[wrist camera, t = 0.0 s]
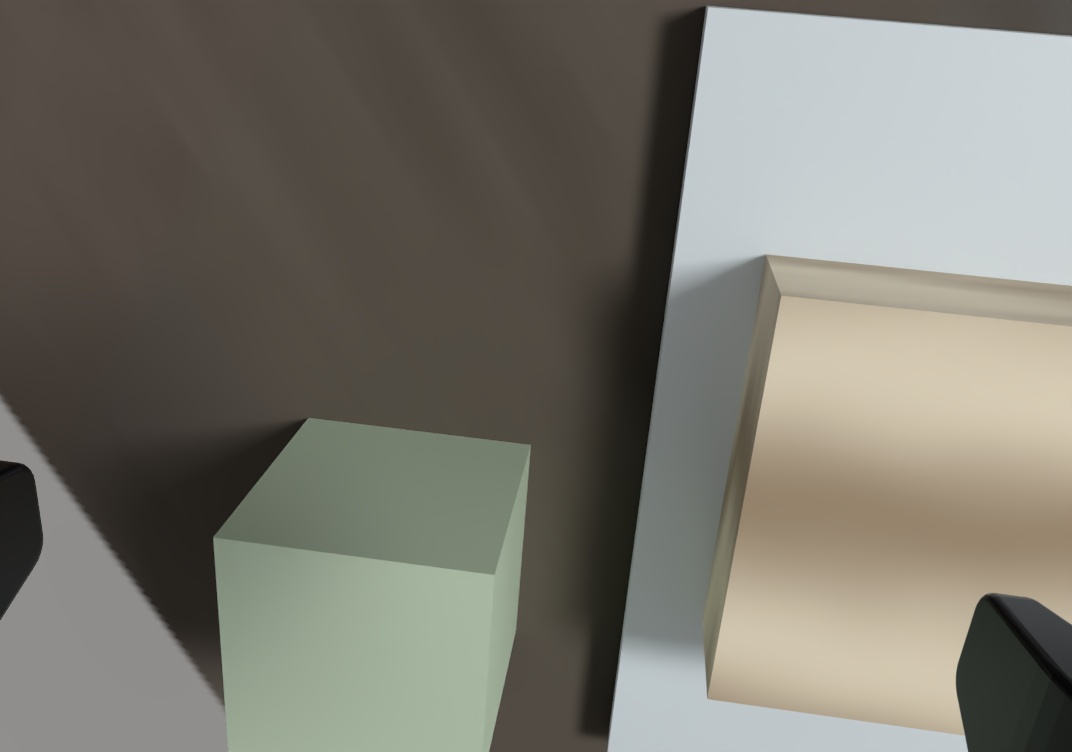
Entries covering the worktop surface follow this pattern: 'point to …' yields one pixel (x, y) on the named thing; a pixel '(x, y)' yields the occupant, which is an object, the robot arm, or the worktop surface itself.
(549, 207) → the worktop surface
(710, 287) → the pale blue-grey board
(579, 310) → the worktop surface
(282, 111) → the worktop surface
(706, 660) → the birch plinth
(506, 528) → the sage cube
